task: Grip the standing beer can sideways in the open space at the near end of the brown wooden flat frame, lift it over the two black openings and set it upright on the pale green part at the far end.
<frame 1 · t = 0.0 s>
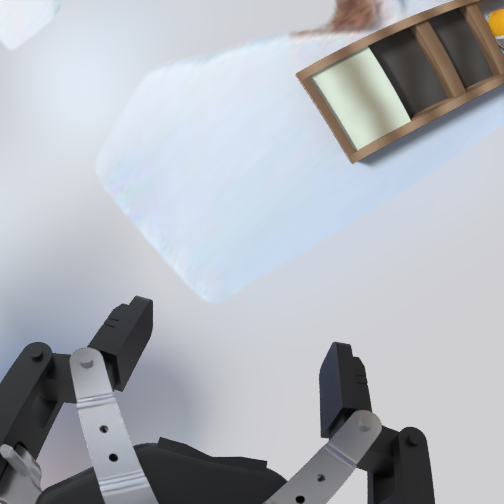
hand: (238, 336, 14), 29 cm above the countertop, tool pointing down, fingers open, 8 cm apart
brown wooden flat frame: (439, 57, 29), on the countertop
beer can: (500, 31, 25), on the countertop
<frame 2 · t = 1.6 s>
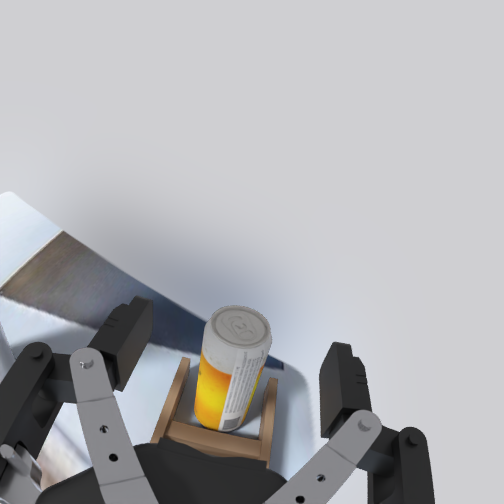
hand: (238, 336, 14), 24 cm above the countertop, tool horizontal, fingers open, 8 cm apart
beer can: (219, 414, 35), on the countertop
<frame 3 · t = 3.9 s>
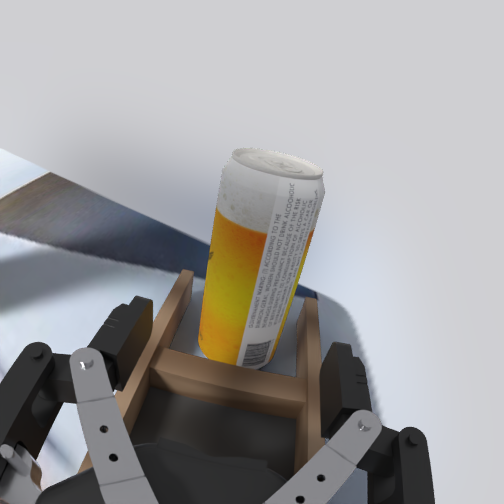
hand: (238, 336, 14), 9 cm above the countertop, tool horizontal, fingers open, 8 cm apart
brown wooden flat frame: (201, 500, 14), on the countertop
beer can: (235, 350, 25), on the countertop
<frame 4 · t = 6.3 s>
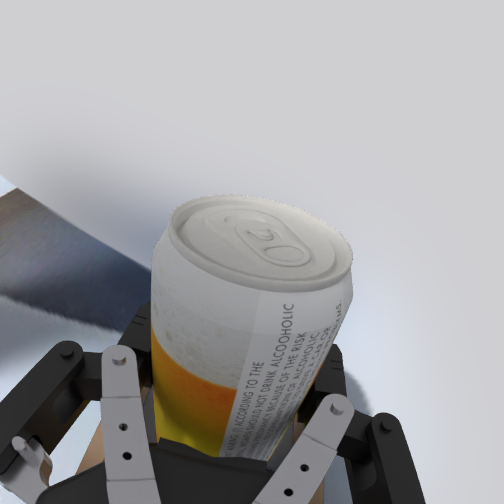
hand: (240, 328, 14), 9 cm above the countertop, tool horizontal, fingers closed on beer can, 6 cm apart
beer can: (209, 460, 16), on the countertop, touching gripper
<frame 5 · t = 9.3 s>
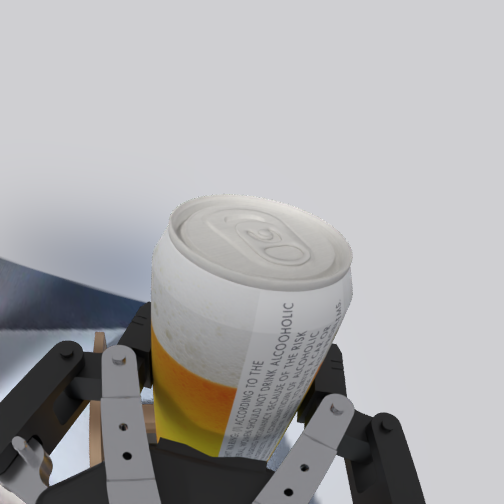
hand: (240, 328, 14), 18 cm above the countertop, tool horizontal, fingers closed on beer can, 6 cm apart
brown wooden flat frame: (169, 501, 20), on the countertop
beer can: (209, 459, 16), point 9 cm above the countertop, touching gripper
when the fingers open (12 cm above the countertop, at t = 12.3 s): beer can stays where it is, resting on brown wooden flat frame.
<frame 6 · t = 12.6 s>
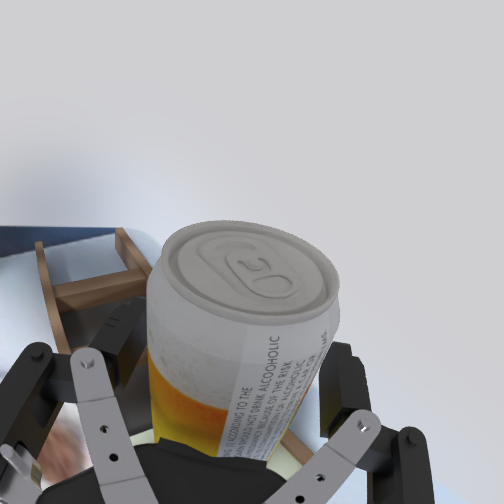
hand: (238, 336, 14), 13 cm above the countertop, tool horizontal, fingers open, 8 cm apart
brown wooden flat frame: (126, 354, 26), on the countertop
beer can: (206, 467, 17), point 2 cm above the countertop, touching brown wooden flat frame
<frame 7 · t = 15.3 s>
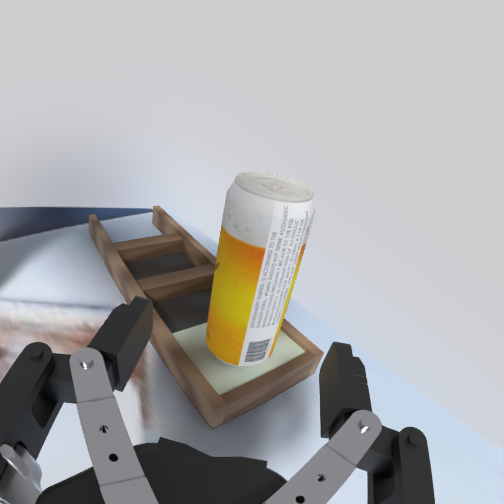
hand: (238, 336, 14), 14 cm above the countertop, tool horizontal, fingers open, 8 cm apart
brown wooden flat frame: (172, 289, 38), on the countertop
beer can: (238, 348, 28), point 2 cm above the countertop, touching brown wooden flat frame
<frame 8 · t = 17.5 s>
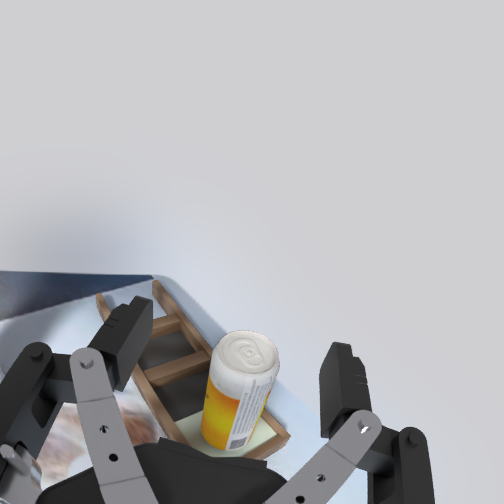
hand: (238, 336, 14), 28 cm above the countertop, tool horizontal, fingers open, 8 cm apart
brown wooden flat frame: (172, 371, 44), on the countertop
beer can: (225, 433, 34), point 2 cm above the countertop, touching brown wooden flat frame
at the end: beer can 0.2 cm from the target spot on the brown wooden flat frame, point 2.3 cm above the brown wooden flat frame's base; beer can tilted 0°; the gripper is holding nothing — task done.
